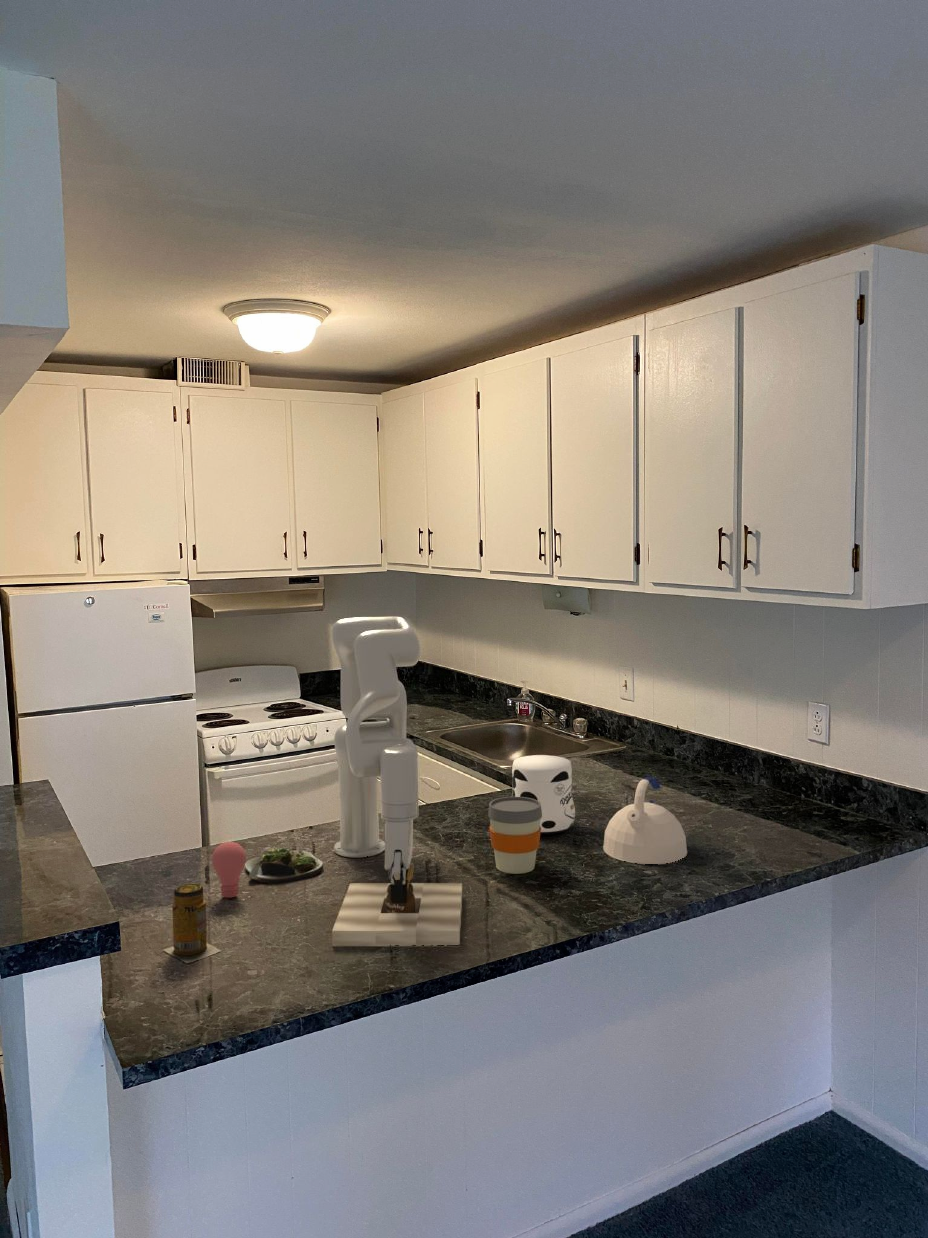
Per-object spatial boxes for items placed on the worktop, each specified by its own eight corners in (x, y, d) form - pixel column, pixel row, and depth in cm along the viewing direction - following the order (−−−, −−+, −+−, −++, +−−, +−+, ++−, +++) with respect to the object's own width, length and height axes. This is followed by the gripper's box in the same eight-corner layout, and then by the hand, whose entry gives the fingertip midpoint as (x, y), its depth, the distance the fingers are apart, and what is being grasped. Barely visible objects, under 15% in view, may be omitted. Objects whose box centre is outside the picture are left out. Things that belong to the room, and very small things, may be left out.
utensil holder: (399, 911, 190) (399, 855, 189) (422, 919, 186) (422, 861, 185) (379, 921, 185) (378, 862, 184) (402, 929, 181) (401, 869, 180)
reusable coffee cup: (551, 863, 217) (551, 800, 216) (527, 880, 206) (527, 815, 205) (504, 854, 223) (503, 793, 222) (478, 870, 213) (478, 807, 211)
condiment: (197, 938, 178) (195, 878, 177) (221, 951, 172) (219, 889, 171) (162, 951, 173) (160, 889, 171) (186, 965, 167) (184, 901, 166)
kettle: (590, 858, 221) (591, 784, 219) (618, 833, 239) (618, 764, 237) (674, 871, 211) (675, 794, 210) (696, 844, 230) (697, 773, 228)
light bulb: (233, 888, 203) (232, 835, 202) (254, 896, 199) (252, 841, 198) (206, 898, 198) (204, 843, 197) (226, 906, 193) (224, 850, 192)
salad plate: (230, 863, 220) (230, 845, 219) (302, 850, 228) (301, 832, 228) (254, 890, 203) (253, 870, 202) (330, 875, 211) (330, 855, 211)
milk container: (587, 834, 238) (587, 766, 236) (526, 843, 231) (526, 773, 230) (556, 816, 254) (556, 751, 252) (498, 823, 247) (498, 757, 246)
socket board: (350, 896, 198) (350, 883, 197) (462, 896, 197) (462, 883, 197) (332, 946, 174) (332, 931, 173) (459, 946, 173) (459, 931, 173)
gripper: (385, 796, 192) (386, 879, 194) (375, 822, 175) (377, 912, 176) (421, 796, 192) (422, 879, 194) (415, 822, 175) (416, 912, 176)
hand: (401, 894), depth 185 cm, fingers open, 7 cm apart
